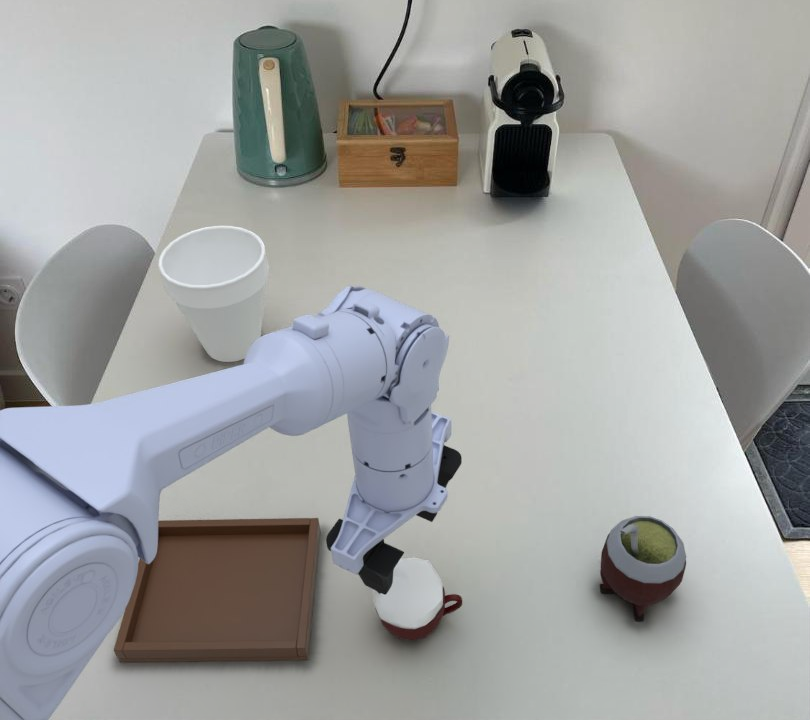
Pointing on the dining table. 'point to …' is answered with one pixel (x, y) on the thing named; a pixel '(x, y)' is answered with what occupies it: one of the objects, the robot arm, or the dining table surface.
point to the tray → (224, 592)
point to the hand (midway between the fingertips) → (401, 549)
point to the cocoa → (414, 600)
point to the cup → (218, 286)
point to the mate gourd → (642, 562)
